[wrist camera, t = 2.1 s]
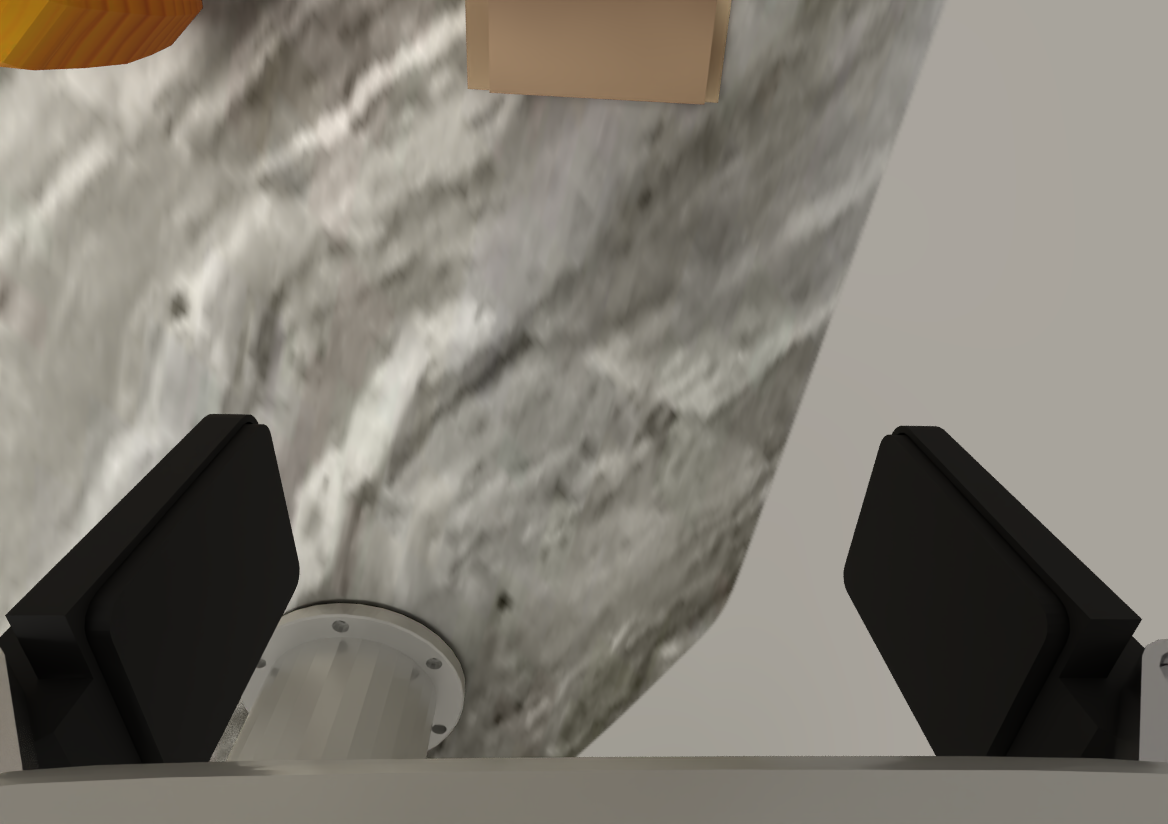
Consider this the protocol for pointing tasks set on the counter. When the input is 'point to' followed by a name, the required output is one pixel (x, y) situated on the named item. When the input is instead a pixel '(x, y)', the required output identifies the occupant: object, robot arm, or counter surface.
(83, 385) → the counter surface
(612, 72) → the wooden rectangular block
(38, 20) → the carrot
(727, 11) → the board
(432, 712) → the robot arm
